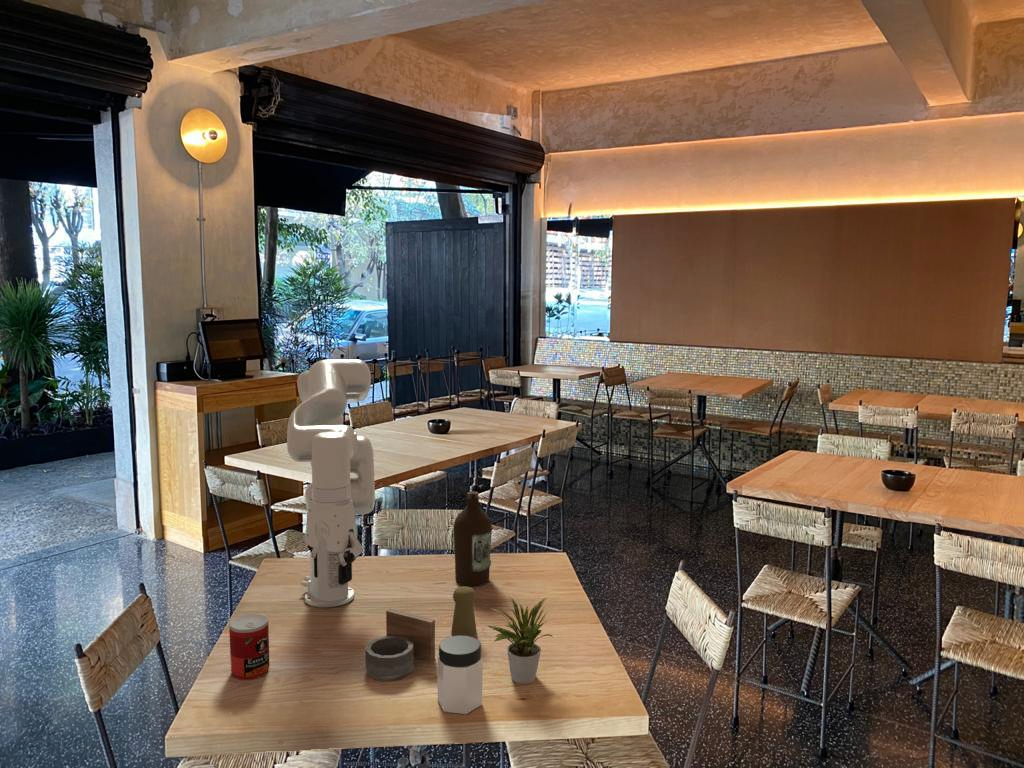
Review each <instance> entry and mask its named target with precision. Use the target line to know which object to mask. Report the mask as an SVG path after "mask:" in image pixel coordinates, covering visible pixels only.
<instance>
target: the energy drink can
mask: <svg viewBox="0 0 1024 768" xmlns="http://www.w3.org/2000/svg"><path fill="white" fill-rule="evenodd" d="M325 540H326V539H323V538H322V539H319V540H318V548H317V573H318V598H319V599H321V602H322V603H324V604H338V603H341V602H343V601H344V600H345V597H347V595H348V587H349V582H347V583H345V584H343V585H341V584H339V565H341V562H340V559H339V555H338V553H332V552H329V551H327V542H326V541H325ZM344 554H345V557H347V554H346V552H344Z"/></svg>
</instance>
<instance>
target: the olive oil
mask: <svg viewBox="0 0 1024 768" xmlns="http://www.w3.org/2000/svg"><path fill="white" fill-rule="evenodd" d="M466 496H467V497H466V505H465V507H464V508H463V510H461V511H460V512H459V513H458V514H457V516H456V518H455V519H454V523H453V528H452V529H453V544H454V545H453V546H454V571H455V573H454V574H455V577H454V578H455V581H456V583H457V584H459V585H462V586H466V587H476V586H477V587H478V586H482V585H485V584H487V583H488V582H489V581H490V571H491V570H490V567H491V565H492V561H491V551H492V550H491V547H492V546H491V545H492V531H493V529H492V528H493V527H492V526H493V525H492V522H491V518H490V517H489V515H488V514H487V513H486V512H485V511H484V510H483V509H482V508H481V506H480V497H479V492H478V491H473V490H472V491H468V492H466Z"/></svg>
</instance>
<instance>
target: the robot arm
mask: <svg viewBox="0 0 1024 768" xmlns="http://www.w3.org/2000/svg"><path fill="white" fill-rule="evenodd" d="M296 380H297V383H296V384H297V391H298V395H299V398H300V401H301V403H300V404H299V405H298V406H296V407H295V408H294V409H293V411H292V412H291V414H290V416H289V418H288V422H287V431H286V432H287V435H286V438H287V439H286V447H287V453H288V455H289V457H290V459H291V460H292V461H294V462H298V463H307V462H308V463H310V466H311V483H309V484H308V485H307V487H306V488H305V493H304V499H305V507H306V511H307V512H306V525H305V533H304V534H303V536H302V539H303V541H304V542H305V544H306V545H307V548H308V550H309V564H310V567H309V569H310V574H309V575H310V576H309V575H305V576H304V578H303V580H302V581H301V582H300V584H301V587H306V588H307V592H306V593H305V594H304V602H305V603H306V604H307V605H309V606H311V607H316V608H333V607H335V608H336V607H340V606H344V605H345V604H348V603H350V602H351V601H352V600H353V599H354V598H355V590H354V589H353V588H352V587H350V586H348V595H347V597H345V600H344V601H343V602H341V603H338V604H324V603H322V602H321V599H319V598H318V573H317V548H318V540H319V539H322V538H323V539H326V540H325V541H326V542H327V551H329V552H332V553H338V555H339V559H340V562H341V565H339V584H341V585H343V584H345V583H347V582H348V583H349V582H351V581H352V579H353V563H354V562H355V560H356V559H357V558H358V556H360V555H361V553H363V552H364V547H363V545H362V544H361V542H360V541H359V539H358V538H357V535H358V534H357V520H356V516H359V515H360V516H361V515H368V514H370V513H371V512H372V511H374V507H375V502H376V489H375V488H376V487H375V486H376V485H375V484H376V483H375V463H374V460H375V459H374V449H373V446H372V442H371V440H370V439H369V438H368V437H366V436H363V435H358V434H357V432H355V430H354V429H353V427H351V426H350V425H346V424H344V418H343V414H344V413H345V411H346V409H347V407H348V403H354V402H355V403H356V402H363V401H365V400H366V398H367V397H368V395H369V392H370V389H371V385H372V376H371V370H370V367H369V366H368V364H367V363H366V362H365V361H364V360H362V359H357V358H355V359H353V358H351V359H350V358H348V359H347V358H346V359H343V358H341V359H336V358H335V359H334V358H333V359H322V360H318V361H316V362H314V363H313V364H312V365H311V366H310V368H309V370H304V371H302V372H300V373H299V374H298V376H297V379H296ZM352 473H353V474H355V475H356V477H351V474H352ZM344 552H346V554H347V557H345V554H344Z"/></svg>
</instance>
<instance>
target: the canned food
mask: <svg viewBox="0 0 1024 768" xmlns="http://www.w3.org/2000/svg"><path fill="white" fill-rule="evenodd" d="M228 630H229V653H230V672H231V674H232V676H233V677H234V678H236V679H237V680H242V681H247V680H248V681H249V680H251V681H252V680H255V679H258V678H261V677H263V676H264V675H265V674H267V673H268V671H269V669H270V639H269V637H270V635H269V634H270V632H269V631H270V630H269V618H268V617H267V616H266V615H262V614H259V613H258V614H257V613H248V614H243V615H239V616H236V617H235V618H233V619H231V621H229V625H228Z"/></svg>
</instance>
